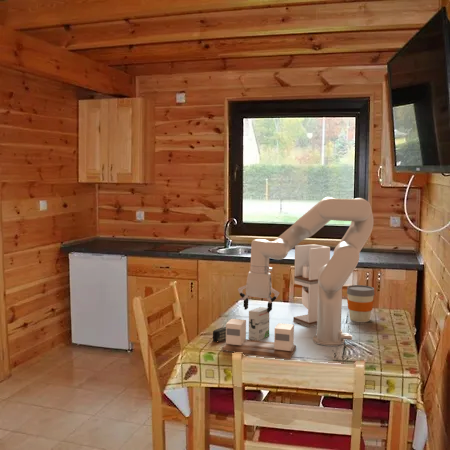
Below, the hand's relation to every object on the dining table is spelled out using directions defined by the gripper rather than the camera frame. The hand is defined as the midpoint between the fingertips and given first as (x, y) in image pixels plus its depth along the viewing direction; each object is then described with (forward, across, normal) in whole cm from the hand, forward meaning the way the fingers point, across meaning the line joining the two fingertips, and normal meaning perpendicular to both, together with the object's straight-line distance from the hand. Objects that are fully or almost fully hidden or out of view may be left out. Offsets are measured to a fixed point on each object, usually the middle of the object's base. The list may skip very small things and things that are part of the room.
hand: (257, 310), depth 216 cm
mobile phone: (+12, +11, +5) cm, 17 cm away
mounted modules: (+9, -5, +15) cm, 18 cm away
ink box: (+12, -1, 0) cm, 12 cm away
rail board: (+11, -5, +15) cm, 19 cm away
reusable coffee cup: (+10, -39, -42) cm, 58 cm away
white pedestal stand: (+11, -18, -29) cm, 36 cm away
